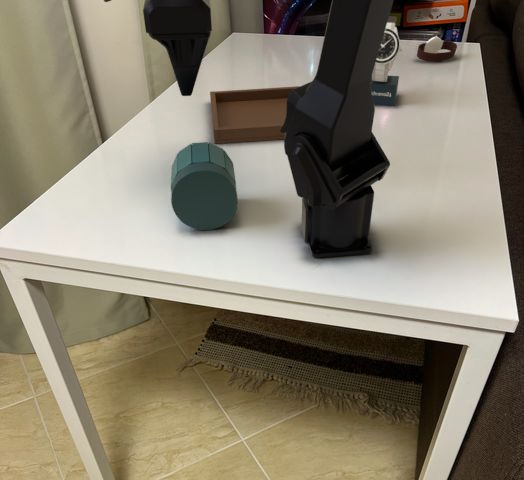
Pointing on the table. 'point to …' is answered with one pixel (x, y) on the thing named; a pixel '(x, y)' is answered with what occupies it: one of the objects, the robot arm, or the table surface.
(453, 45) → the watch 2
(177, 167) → the teal faceted cup
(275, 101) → the tray
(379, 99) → the watch
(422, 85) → the table surface
